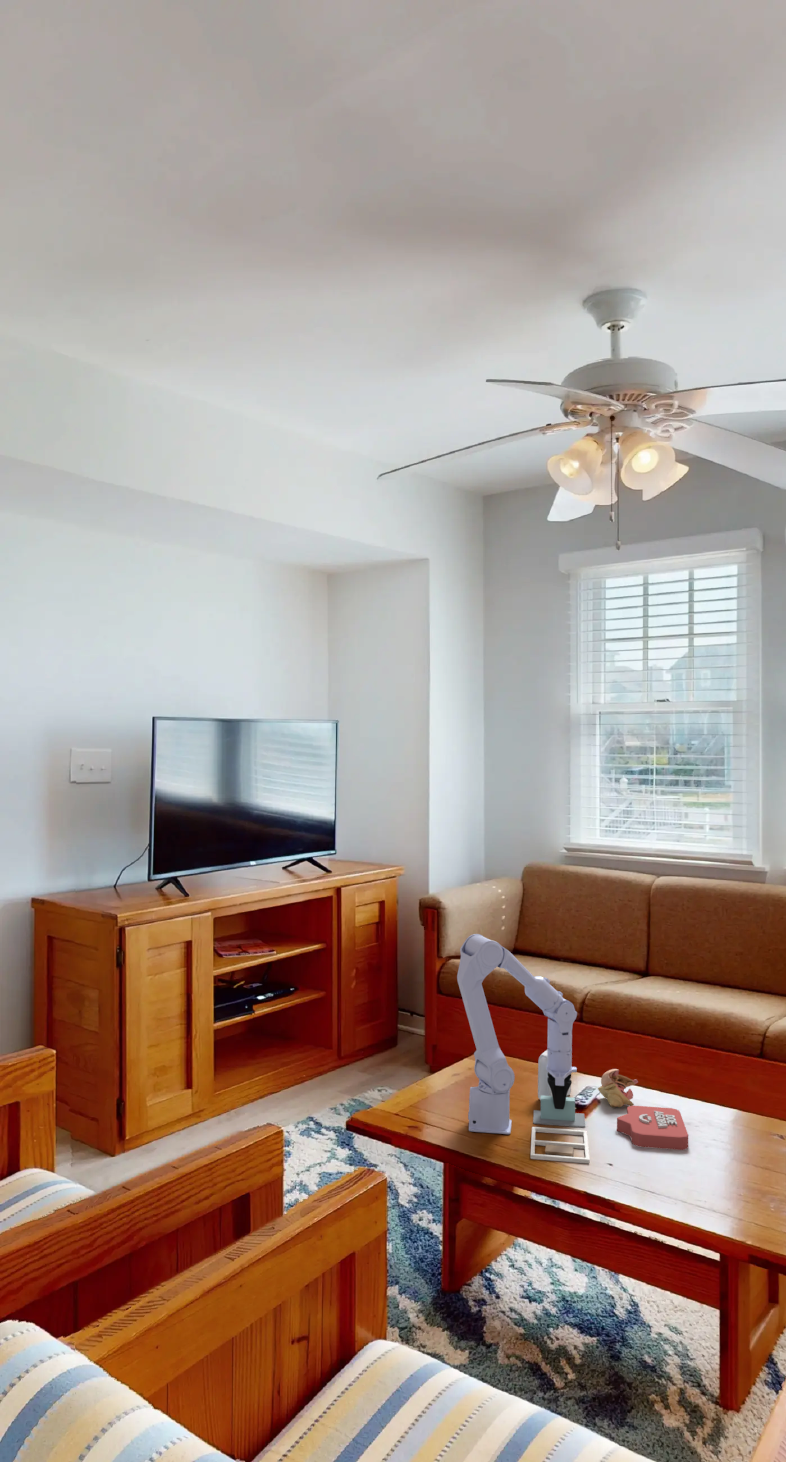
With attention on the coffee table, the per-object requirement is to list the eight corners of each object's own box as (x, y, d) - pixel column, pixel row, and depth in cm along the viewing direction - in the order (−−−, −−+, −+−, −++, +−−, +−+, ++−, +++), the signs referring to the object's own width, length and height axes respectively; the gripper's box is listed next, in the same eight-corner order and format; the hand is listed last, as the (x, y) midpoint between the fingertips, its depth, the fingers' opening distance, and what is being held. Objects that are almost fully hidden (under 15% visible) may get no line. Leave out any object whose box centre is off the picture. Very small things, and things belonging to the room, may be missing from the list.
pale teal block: (540, 1118, 227) (540, 1099, 227) (540, 1114, 229) (540, 1095, 229) (574, 1121, 226) (575, 1101, 226) (574, 1117, 228) (574, 1097, 228)
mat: (533, 1123, 224) (533, 1122, 224) (533, 1111, 232) (533, 1110, 232) (585, 1127, 223) (585, 1126, 223) (584, 1115, 230) (584, 1113, 230)
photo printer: (559, 1090, 248) (559, 1042, 248) (573, 1094, 244) (573, 1045, 245) (535, 1099, 240) (535, 1050, 241) (549, 1104, 237) (549, 1054, 238)
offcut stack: (545, 1158, 207) (545, 1151, 207) (545, 1151, 210) (545, 1144, 210) (573, 1160, 205) (573, 1153, 205) (573, 1154, 209) (574, 1147, 209)
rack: (530, 1158, 205) (530, 1155, 205) (532, 1130, 221) (532, 1126, 221) (589, 1163, 203) (589, 1159, 203) (586, 1134, 219) (586, 1130, 219)
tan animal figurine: (633, 1116, 232) (605, 1087, 232) (608, 1123, 239) (580, 1096, 239) (647, 1087, 238) (620, 1059, 238) (622, 1095, 245) (595, 1068, 246)
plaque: (614, 1101, 230) (678, 1106, 228) (614, 1117, 230) (678, 1122, 228) (619, 1130, 213) (689, 1135, 210) (619, 1147, 213) (689, 1153, 210)
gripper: (577, 1059, 220) (577, 1119, 220) (575, 1040, 234) (575, 1096, 234) (546, 1057, 221) (546, 1116, 221) (546, 1039, 236) (546, 1095, 235)
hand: (559, 1106), depth 228 cm, fingers closed on pale teal block, 2 cm apart
